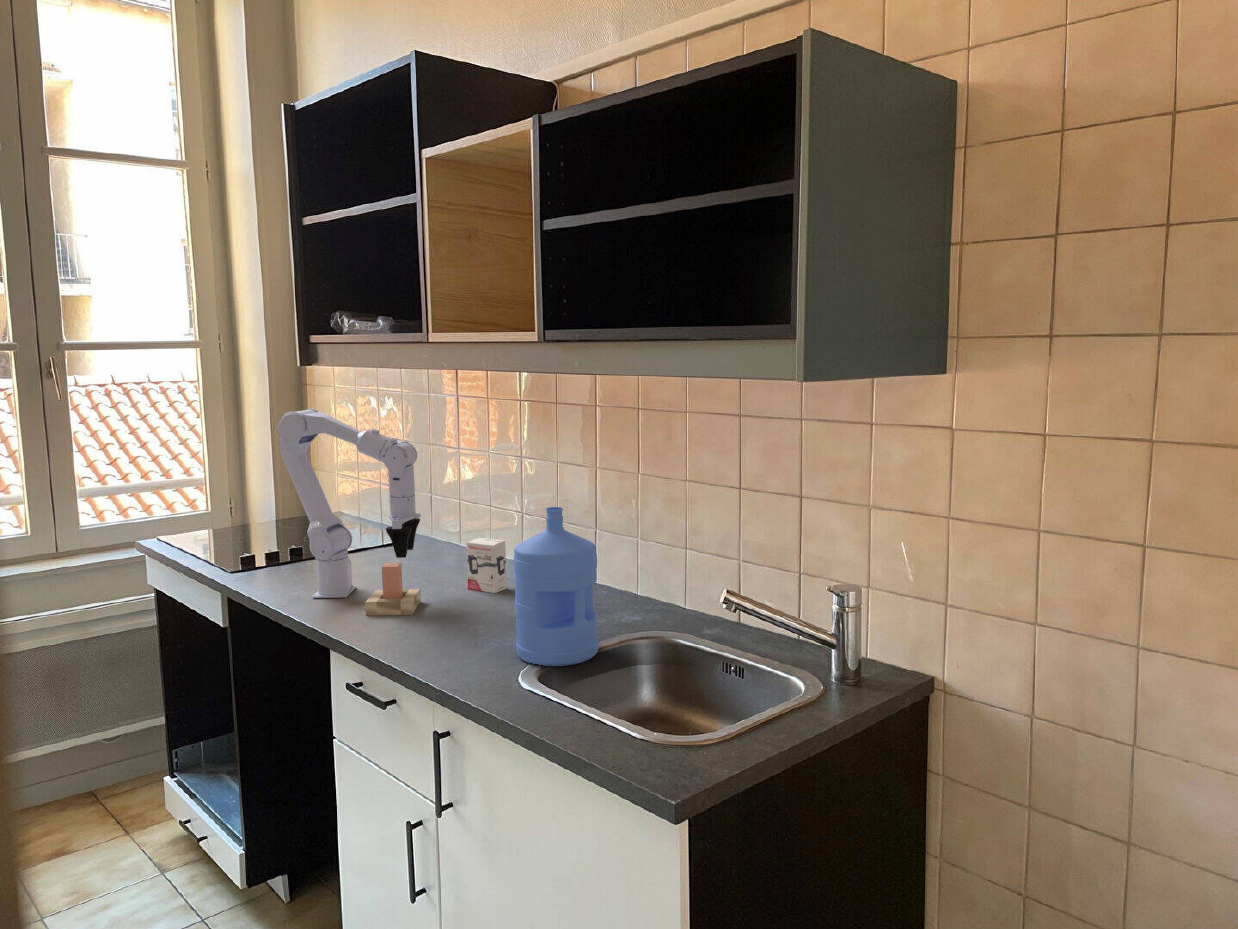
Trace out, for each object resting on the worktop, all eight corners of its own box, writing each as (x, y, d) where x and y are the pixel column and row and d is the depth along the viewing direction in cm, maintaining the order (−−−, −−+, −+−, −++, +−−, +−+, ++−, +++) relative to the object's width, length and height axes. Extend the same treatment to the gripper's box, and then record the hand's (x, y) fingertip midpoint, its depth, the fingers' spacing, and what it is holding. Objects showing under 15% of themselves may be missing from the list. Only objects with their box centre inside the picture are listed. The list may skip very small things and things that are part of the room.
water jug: (499, 654, 176) (494, 509, 172) (561, 635, 187) (558, 498, 183) (552, 674, 165) (549, 520, 161) (615, 653, 176) (613, 507, 172)
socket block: (376, 602, 212) (376, 589, 211) (420, 601, 212) (420, 588, 212) (365, 615, 202) (365, 602, 202) (412, 614, 202) (411, 601, 202)
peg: (387, 606, 209) (385, 563, 207) (403, 606, 209) (401, 562, 207) (383, 611, 205) (381, 567, 204) (400, 610, 205) (398, 566, 204)
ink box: (466, 589, 222) (465, 541, 221) (479, 584, 226) (478, 537, 225) (495, 593, 218) (493, 544, 216) (508, 588, 222) (506, 540, 221)
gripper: (413, 500, 206) (416, 560, 207) (425, 490, 220) (427, 546, 222) (381, 501, 205) (384, 561, 207) (395, 490, 220) (398, 546, 222)
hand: (404, 553), depth 215 cm, fingers open, 7 cm apart
